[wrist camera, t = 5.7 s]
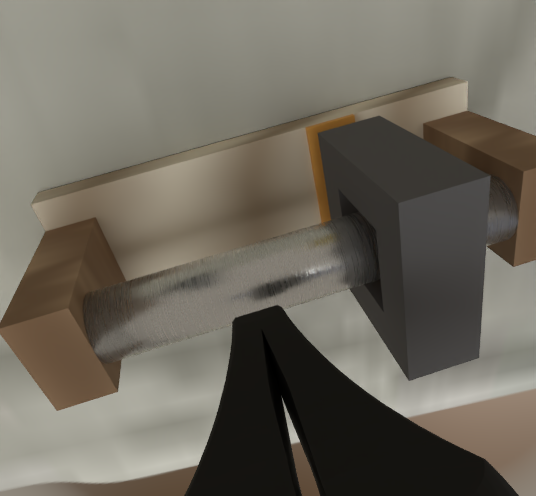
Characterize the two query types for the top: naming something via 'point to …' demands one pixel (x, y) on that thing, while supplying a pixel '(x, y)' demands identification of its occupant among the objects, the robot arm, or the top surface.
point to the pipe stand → (229, 238)
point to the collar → (414, 239)
